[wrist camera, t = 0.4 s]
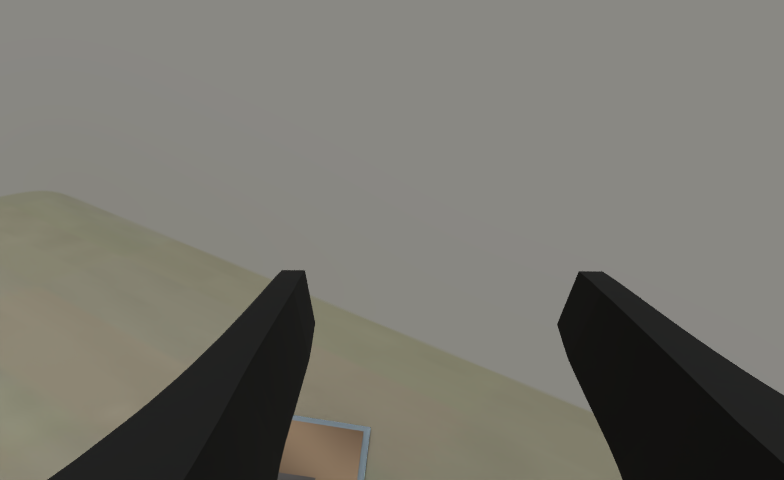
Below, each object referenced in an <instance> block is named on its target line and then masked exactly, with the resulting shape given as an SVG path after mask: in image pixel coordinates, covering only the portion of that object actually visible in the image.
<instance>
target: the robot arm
mask: <svg viewBox="0 0 784 480" xmlns="http://www.w3.org/2000/svg"><path fill="white" fill-rule="evenodd" d="M557 325H558V328H559V332H560V335H561V338H562V342H563V345H564V348H565V351H566V354H567V357H568V359H569V362H570V364H571V366H572V368H573V371H574V373H575V375H576V377H577V379H578V381H579V384H580V386H581V388H582V390H583V392H584V394H585V397H586V399H587V401H588V403H589V405H590V407H591V409H592V411H593V413H594V416H595V418H596V420H597V422H598V424H599V426H600V428H601V430H602V432H603V434H604V437H605V439H606V441H607V443H608V445H609V447H610V450H611V452H612V454H613V457H614V459H615V461H616V464H617V466H618V468H619V471H620V474H621V477H622V479H623V480H784V395H782V394H780V393H779V392H777V391H775V390H774V389H772V388H771V387H769V386H767V385H766V384H764V383H763V382H761V381H759V380H758V379H756V378H755V377H753V376H752V375H750V374H749V373H747V372H745V371H744V370H742V369H741V368H739V367H738V366H736V365H735V364H733V363H732V362H730V361H729V360H727V359H726V358H724V357H723V356H721V355H720V354H718V353H717V352H715V351H713V350H712V349H711V348H709V347H708V346H707V345H705V344H704V343H702V342H701V341H699V340H697V339H696V338H695V337H694V336H692V335H691V334H689V333H688V332H686V331H685V330H683V329H682V328H681V327H679V326H678V325H677V324H675V323H674V322H672V321H671V320H669V319H668V318H667V317H666V316H664V315H663V314H661V313H660V312H659V311H657V310H655V308H653V307H652V306H650V305H649V304H648V303H646V302H645V301H643V300H642V299H641V298H639V297H638V296H637V295H635V294H634V293H633V292H631V291H630V290H628V289H627V288H625V287H624V286H623V285H621V284H620V283H619V282H617V281H616V280H614V279H613V278H611V277H610V276H608V275H607V274H605V273H604V272H579V273H578V275H577V277H576V280H575V282H574V285H573V287H572V290H571V292H570V294H569V297H568V299H567V302H566V304H565V307H564V309H563V312H562V314H561V316H560V319H559V321H558V324H557ZM314 327H315V320H314V315H313V310H312V305H311V300H310V295H309V290H308V284H307V279H306V274H305V271H303V270H296V271H295V270H294V271H293V270H292V271H291V270H282V271H281V272H280V273H279V274H278V275H277V276H276V277H275V278H274V279H273V280H272V281H271V282H270V284H269V285H268V286H267V287H266V288H265V289H264V290H263V291H262V293H261V294H260V295H259V296H258V297H257V298H256V299H255V300H254V301H253V303H252V304H251V305H250V306H249V307H248V308H247V309H246V310H245V311H244V312H243V313H242V315H241V316H240V317H239V318H238V319H237V320H236V321H235V322H234V323H233V324H232V325H231V326H230V327H229V328H228V329H227V330H226V331H225V333H224V334H223V335H222V336H221V337H220V338H219V339H218V340H217V341H216V342H215V343H214V344H212V345H211V346H210V347H209V348H208V349H207V350H206V351H205V352H204V353H203V354H202V355H201V356H200V357H199V358H198V359H197V360H196V361H195V362H194V363H193V364H192V365H191V366H190V367H189V368H188V369H187V370H185V371H184V372H183V373H182V374H181V375H180V376H179V377H178V378H177V379H176V380H174V381H173V382H172V383H171V384H170V385H169V386H168V387H166V388H165V389H164V390H163V391H162V392H161V393H159V394H158V395H157V396H156V397H155V398H154V399H152V400H151V401H150V402H149V403H148V404H147V405H145V406H144V407H143V408H142V409H141V410H139V411H138V412H137V413H135V414H134V415H133V416H132V417H130V418H129V419H128V420H127V421H125V422H124V423H123V424H122V425H120V426H119V427H118V428H116V429H115V430H114V431H112V432H111V433H110V434H109V435H107V436H106V437H105V438H103V439H102V440H101V441H99V442H98V443H97V444H95V445H94V446H93V447H92V448H90V449H89V450H88V451H86V452H85V453H84V454H82V455H81V456H80V457H78V458H77V459H76V460H74V461H73V462H72V463H70V464H69V465H67V466H66V467H65V468H63V469H62V470H60V471H59V472H58V473H56V474H55V475H53V476H52V477H51V478H49V479H48V480H277V478H278V473H279V468H280V463H281V459H282V455H283V451H284V447H285V443H286V439H287V436H288V432H289V429H290V425H291V422H292V418H293V415H294V411H295V408H296V404H297V401H298V397H299V394H300V390H301V387H302V383H303V380H304V376H305V373H306V369H307V365H308V362H309V358H310V352H311V346H312V340H313V333H314Z"/></svg>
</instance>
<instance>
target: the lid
mask: <svg viewBox="0 0 784 480" xmlns="http://www.w3.org/2000/svg"><path fill="white" fill-rule="evenodd" d="M363 433H364V431H359V430H352V429H346V428H339V427H333V426H327V425H320V424H314V423H308V422H301V421H295V420H292V422H291V425H290V429H289V432H288V436H287V439H286V443H285V447H284V451H283V455H282V459H281V463H280V468H279V473H278V478H277V480H357V477H358V470H359V462H360V455H361V447H362V440H363Z"/></svg>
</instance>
